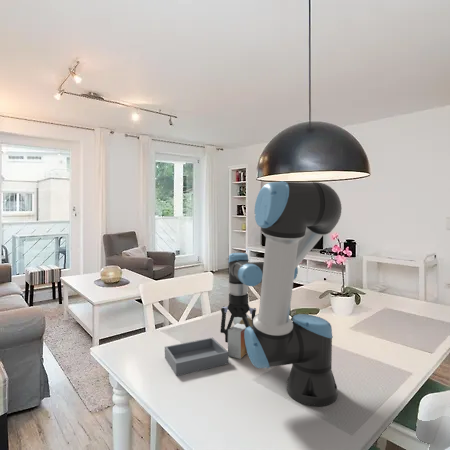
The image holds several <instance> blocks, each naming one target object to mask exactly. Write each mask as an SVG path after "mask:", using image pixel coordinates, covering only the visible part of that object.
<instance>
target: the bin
mask: <svg viewBox="0 0 450 450" xmlns="http://www.w3.org/2000/svg"><path fill="white" fill-rule="evenodd" d="M164 359H165V360H166V362H167V363H168V365H169V367H170V368H171V370H172V372H173V374H175V376H181V375H186V374H190V373H194V372H199V371H203V370H207V369H211V368H216V367H220V366H224V365H228V364H229V362H230V361H229V356H228V349H225V347H223V346H222V345H221V343H219V342H218V341H217V340H216V339H215V338H213V337H208V338H203V339H198V340H194V341H193V340H192V341H187V342H181V343H177V344H172V345H167V346H164Z"/></svg>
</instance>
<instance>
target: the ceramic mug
mask: <svg viewBox="0 0 450 450" xmlns="http://www.w3.org/2000/svg"><path fill="white" fill-rule="evenodd" d="M246 315H247V319H248V321H249V324H250V327H252V317H250V316H249V315H248V314H247V313H246ZM232 323H233V325H236V324H237V323H238V324H244V321H243V319H242V318H240V317H234V319H233V322H232ZM244 325H245V324H244Z"/></svg>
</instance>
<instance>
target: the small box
mask: <svg viewBox="0 0 450 450" xmlns="http://www.w3.org/2000/svg"><path fill="white" fill-rule="evenodd" d="M245 329H246V327H245V325H244V324H238V323H237V324H236V325H235V324H233V326H231V328H230V329H228V343H227V351H228V357H231V358H235V359H240V360H241V359H242V358H243V357H244V356H245V355H247V354H248V353H247V349H246V345H245V338H244V332H245Z"/></svg>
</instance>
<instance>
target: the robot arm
mask: <svg viewBox="0 0 450 450" xmlns="http://www.w3.org/2000/svg"><path fill="white" fill-rule="evenodd" d="M341 202H342V201H341V199H340V196H339V194H338V193H337V192H336V191H335V189H333V188H332V187H331V186H330V185H328V184H325V183H323V182H317V181H314V182H313V181H312V182H307V181H306V182H305V181H283V180H282V181H272V182H270V181H269V182H267V183H266V184H264V185H263V186H262V187H261V189H259V191H258V193H257V196H256V198H255V204H254V219H255V223H256V225H258V227H259V228H260V232H261V234H263V236H264V237H265V245H264V246H265V247H264V254H263V256H264V257H263V261H252V262H251V261H250V260H249V255H248V254H247V253H245V252H232V253H229V255H228V262H227V265H228V293H229V294H228V305H226V306H222V307H221V309H220V311H221V319H220V320H221V321H220V334H224V335H225V336H224V341H225V343H227V344H228V329H230V328H231V327H232V325H233V323H234V322H233V319H234V317H240V318H242V319H243V321H244V324H245V327H246V329H245V332H244V338H245V345H246V349H247V353H246V354H247V356H248V358H249V360H250V362H251V364H252V366H254V368H256V369H266V368H267V369H270V368H273V367H281V366H285V365H292V366H291V369H290V373H289V375H288V377H287V380H286V392H287V394H288V395H289V396H290V397H291V398H292V399H293V400H294V401H295V402H298V403H301V404H303V405H308V406H313V407H322V406H328V405H331V404H333V403H335V402H336V400H337V398H338V386H337V383H336V379H335V375H334V374H333V373H334V372H333V370H332V365H333V363H332V362H333V361H332V360H333V359H332V358H333V356H332V354H333V353H332V352H333V336H334V335H333V328H332V325H331V323H330V322H329V321H328V320H327V319H325V318H322V317H320V316H316V315H313V314H306V313H298V314H294V315H293V316H292V318H291V319H290V312H291V302H292V297H293V288H294V280H296V278H297V277H298V272H299V269H298V266H300V264H301V262H303V260H304V259H305V258H306V257H307V256H308V254H309V253H310V252H311V251H312V249H313V248H314V247H315V246H316V245H317V244H318V242H319V241H320V240H321V238H322V237H323V236H326V235H328V234H330V233H331V232H332V231H333V230H334V229H335V228H336V226H337V225H338V223H339V220H340V219H341V215H342V203H341ZM259 284H261V288H260V297H259V309H258V313H257V308H255V307H254V308H253V307H250V305H249V287H256V286H257V285H259ZM227 312H229V313H230V314H231V315H230V318H229V320H228V323H227V326H226V321H227V320H226V317H227ZM248 312H249V314H250V315H251V320H252V327H250V324H249V321H248V319H247V315H248V314H247V313H248ZM256 313H257V314H256ZM246 314H247V315H246Z"/></svg>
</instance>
